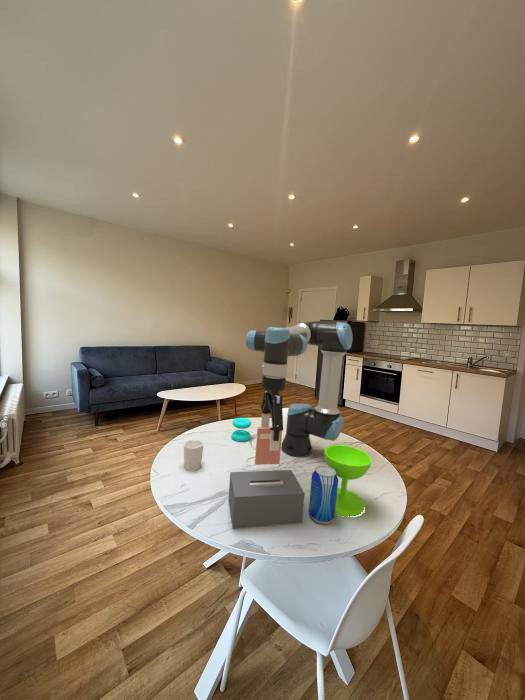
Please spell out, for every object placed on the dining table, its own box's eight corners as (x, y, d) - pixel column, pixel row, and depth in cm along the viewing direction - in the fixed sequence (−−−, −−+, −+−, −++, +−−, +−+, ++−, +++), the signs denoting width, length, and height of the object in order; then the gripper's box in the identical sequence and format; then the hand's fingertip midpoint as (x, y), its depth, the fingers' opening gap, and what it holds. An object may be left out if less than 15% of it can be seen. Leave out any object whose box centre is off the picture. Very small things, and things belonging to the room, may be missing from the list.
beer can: (306, 507, 97) (310, 463, 96) (330, 509, 97) (335, 464, 96) (310, 524, 89) (315, 476, 88) (337, 526, 89) (342, 478, 88)
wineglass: (326, 484, 112) (331, 441, 111) (369, 499, 105) (374, 452, 103) (313, 506, 98) (318, 456, 97) (361, 524, 91) (367, 471, 89)
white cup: (197, 473, 114) (198, 449, 113) (179, 469, 115) (180, 446, 114) (205, 464, 121) (206, 441, 120) (188, 460, 123) (189, 438, 122)
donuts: (253, 418, 153) (248, 424, 144) (252, 436, 154) (247, 443, 145) (236, 415, 155) (230, 421, 146) (234, 433, 156) (228, 440, 147)
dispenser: (288, 495, 103) (291, 468, 102) (301, 522, 90) (304, 491, 89) (228, 499, 99) (230, 470, 98) (232, 528, 85) (234, 495, 84)
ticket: (278, 462, 94) (281, 427, 93) (279, 463, 93) (282, 428, 92) (254, 462, 92) (257, 427, 91) (255, 464, 91) (258, 428, 90)
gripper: (255, 368, 101) (251, 426, 103) (272, 384, 77) (266, 459, 79) (275, 369, 103) (271, 426, 105) (298, 385, 78) (291, 458, 80)
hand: (269, 440), depth 92 cm, fingers open, 13 cm apart
